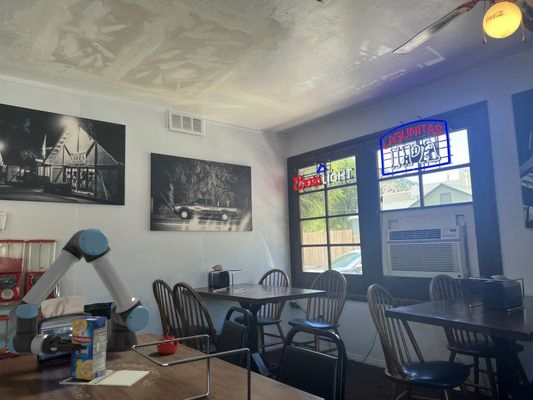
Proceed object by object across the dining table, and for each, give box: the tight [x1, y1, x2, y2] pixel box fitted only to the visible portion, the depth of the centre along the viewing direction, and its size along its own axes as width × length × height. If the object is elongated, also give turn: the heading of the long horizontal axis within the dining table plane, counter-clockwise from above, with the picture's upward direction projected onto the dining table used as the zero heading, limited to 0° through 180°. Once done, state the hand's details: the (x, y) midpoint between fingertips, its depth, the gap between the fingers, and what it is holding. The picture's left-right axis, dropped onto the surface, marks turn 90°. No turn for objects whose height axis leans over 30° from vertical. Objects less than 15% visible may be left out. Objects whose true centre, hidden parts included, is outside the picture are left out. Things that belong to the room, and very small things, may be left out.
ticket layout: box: [59, 369, 150, 388], centre depth 152 cm, size 16×28×1 cm, turn 81°
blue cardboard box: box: [69, 315, 108, 381], centre depth 155 cm, size 7×11×22 cm, turn 69°
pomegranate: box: [156, 332, 179, 355], centre depth 188 cm, size 10×10×9 cm
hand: (100, 345), depth 154 cm, fingers closed on blue cardboard box, 3 cm apart
